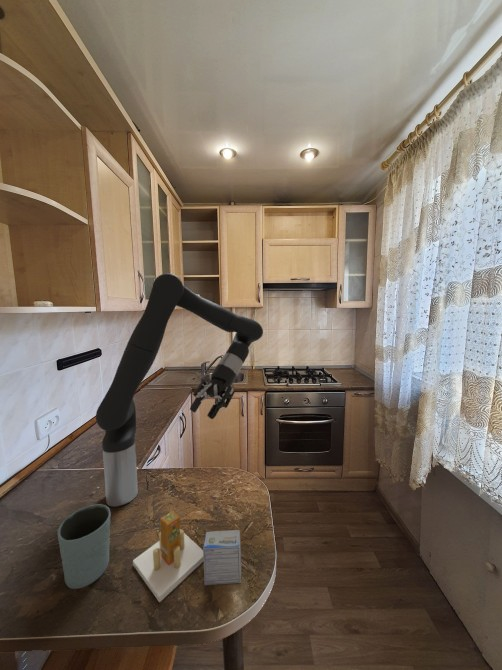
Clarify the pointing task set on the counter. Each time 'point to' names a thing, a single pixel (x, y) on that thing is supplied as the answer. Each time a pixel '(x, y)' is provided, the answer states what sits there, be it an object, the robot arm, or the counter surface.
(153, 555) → the pin plate
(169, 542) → the supplement box
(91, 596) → the counter surface
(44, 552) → the counter surface
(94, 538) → the teal embossed cup
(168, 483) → the counter surface
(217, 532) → the medicine box
